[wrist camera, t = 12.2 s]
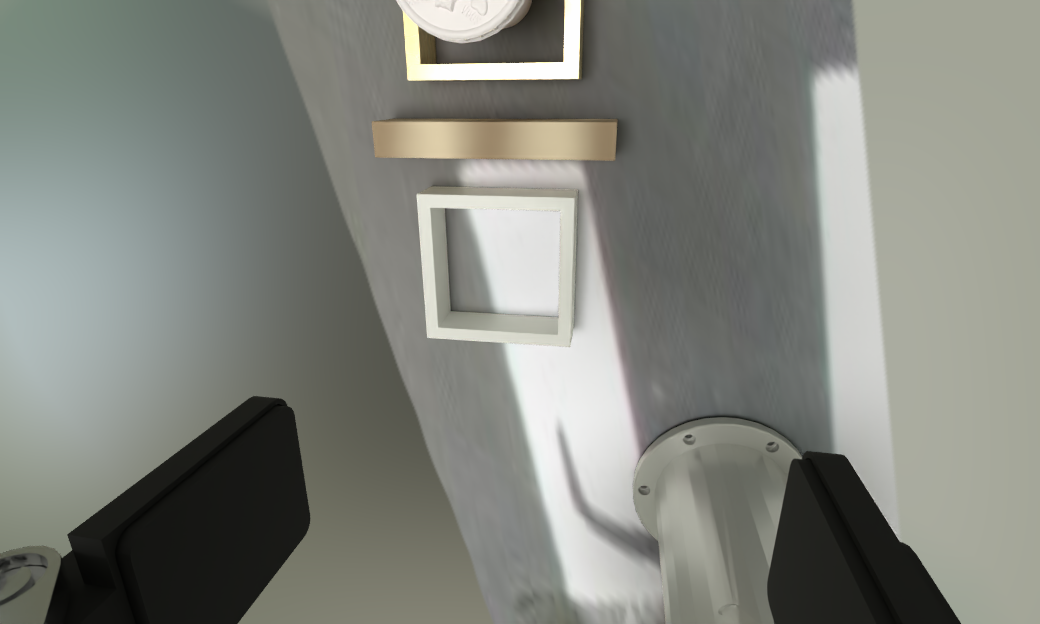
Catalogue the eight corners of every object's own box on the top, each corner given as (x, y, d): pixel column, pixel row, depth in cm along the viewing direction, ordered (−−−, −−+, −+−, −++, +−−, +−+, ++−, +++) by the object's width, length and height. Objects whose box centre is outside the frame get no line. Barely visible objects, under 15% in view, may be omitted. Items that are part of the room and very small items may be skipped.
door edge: (617, 119, 33) (617, 122, 30) (615, 153, 34) (615, 160, 31) (394, 118, 35) (371, 121, 32) (397, 151, 36) (375, 157, 33)
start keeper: (578, 189, 35) (574, 197, 32) (573, 328, 39) (569, 347, 36) (431, 186, 36) (416, 194, 34) (440, 320, 40) (427, 337, 37)
